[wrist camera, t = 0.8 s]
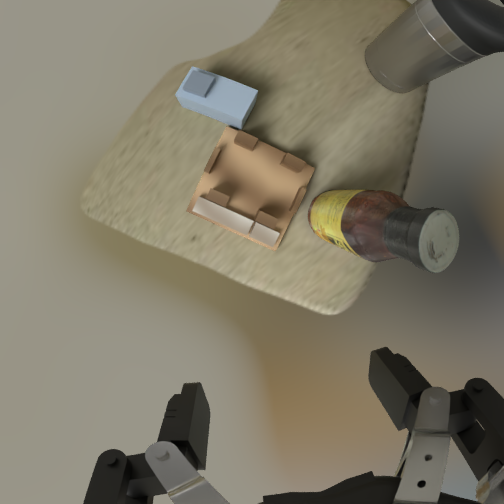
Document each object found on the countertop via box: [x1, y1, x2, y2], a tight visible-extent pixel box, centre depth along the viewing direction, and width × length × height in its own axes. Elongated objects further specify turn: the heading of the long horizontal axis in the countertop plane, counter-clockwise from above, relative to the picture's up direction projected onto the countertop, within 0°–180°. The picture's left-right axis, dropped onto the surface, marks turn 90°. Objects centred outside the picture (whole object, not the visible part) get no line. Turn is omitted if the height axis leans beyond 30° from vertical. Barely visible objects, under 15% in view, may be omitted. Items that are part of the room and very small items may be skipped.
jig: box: [186, 126, 315, 251], centre depth 30 cm, size 11×12×4 cm
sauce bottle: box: [308, 190, 459, 273], centre depth 23 cm, size 7×6×20 cm
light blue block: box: [175, 67, 258, 130], centre depth 27 cm, size 4×8×6 cm, turn 65°
